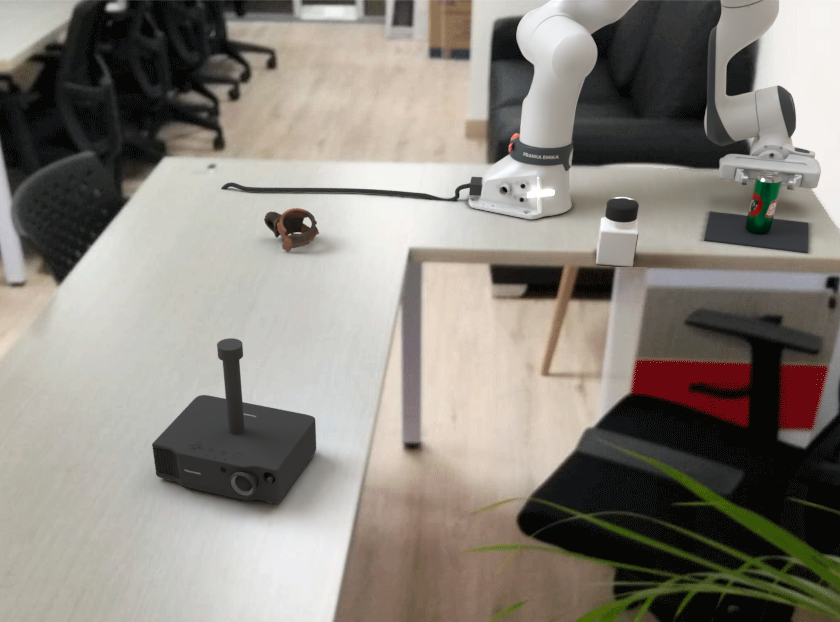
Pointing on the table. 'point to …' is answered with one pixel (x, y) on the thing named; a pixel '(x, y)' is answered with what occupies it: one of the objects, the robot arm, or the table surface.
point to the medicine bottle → (618, 233)
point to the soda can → (763, 202)
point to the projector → (235, 442)
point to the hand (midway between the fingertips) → (767, 183)
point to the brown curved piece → (292, 227)
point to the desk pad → (779, 236)
